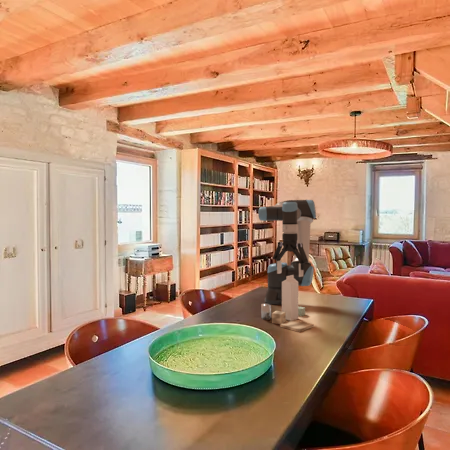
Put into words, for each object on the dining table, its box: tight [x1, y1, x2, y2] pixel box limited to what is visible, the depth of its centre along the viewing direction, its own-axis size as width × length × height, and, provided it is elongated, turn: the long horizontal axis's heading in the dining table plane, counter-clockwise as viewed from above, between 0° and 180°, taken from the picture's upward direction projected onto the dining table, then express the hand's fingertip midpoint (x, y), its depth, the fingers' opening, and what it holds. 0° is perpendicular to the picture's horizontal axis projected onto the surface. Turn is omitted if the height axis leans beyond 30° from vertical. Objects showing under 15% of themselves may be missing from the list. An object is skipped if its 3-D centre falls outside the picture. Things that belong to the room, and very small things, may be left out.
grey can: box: [260, 302, 272, 321], centre depth 190 cm, size 5×5×7 cm
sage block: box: [298, 305, 306, 317], centre depth 196 cm, size 7×4×4 cm, turn 54°
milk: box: [281, 275, 299, 322], centre depth 188 cm, size 6×6×22 cm
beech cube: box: [271, 310, 287, 325], centre depth 182 cm, size 5×5×5 cm
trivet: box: [279, 319, 314, 333], centre depth 175 cm, size 11×11×1 cm
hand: (289, 274), depth 188 cm, fingers open, 13 cm apart
